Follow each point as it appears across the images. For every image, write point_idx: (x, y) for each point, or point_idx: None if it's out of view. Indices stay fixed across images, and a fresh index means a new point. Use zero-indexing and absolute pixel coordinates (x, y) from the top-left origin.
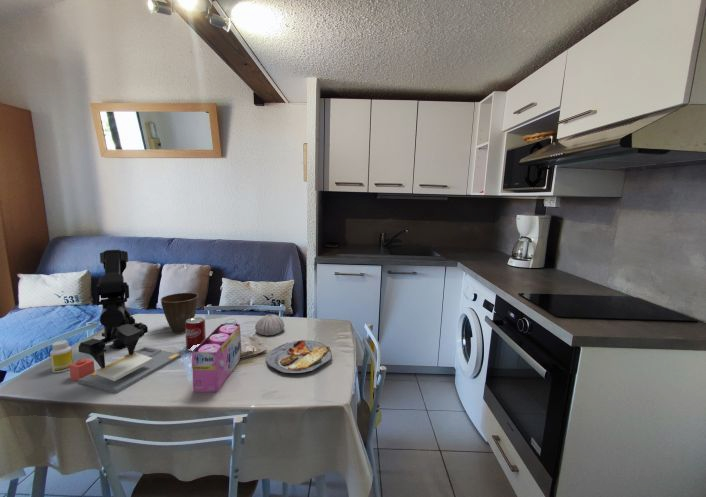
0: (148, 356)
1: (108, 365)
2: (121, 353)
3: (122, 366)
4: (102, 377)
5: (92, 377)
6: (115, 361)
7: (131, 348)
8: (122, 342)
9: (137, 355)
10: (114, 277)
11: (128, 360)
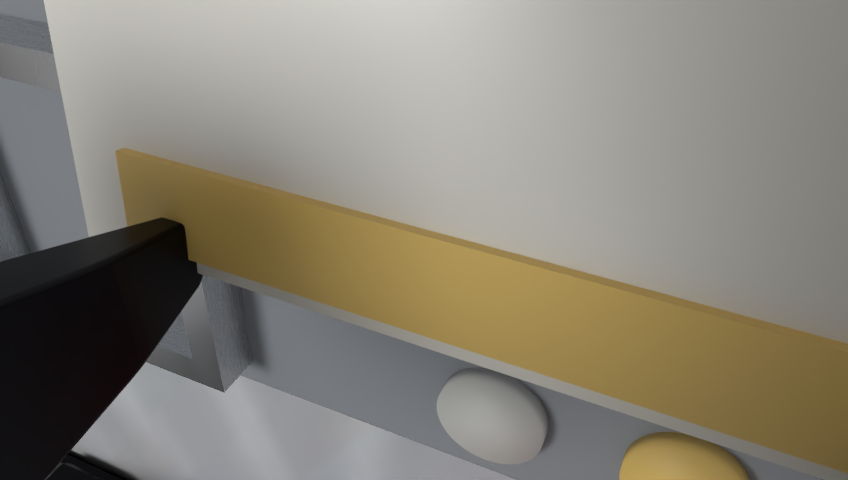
0: (52, 48)
1: (766, 421)
2: (197, 457)
3: (692, 17)
4: None
5: (798, 478)
6: (520, 378)
7: (33, 330)
8: None
9: (124, 99)
10: None
11: (360, 121)
